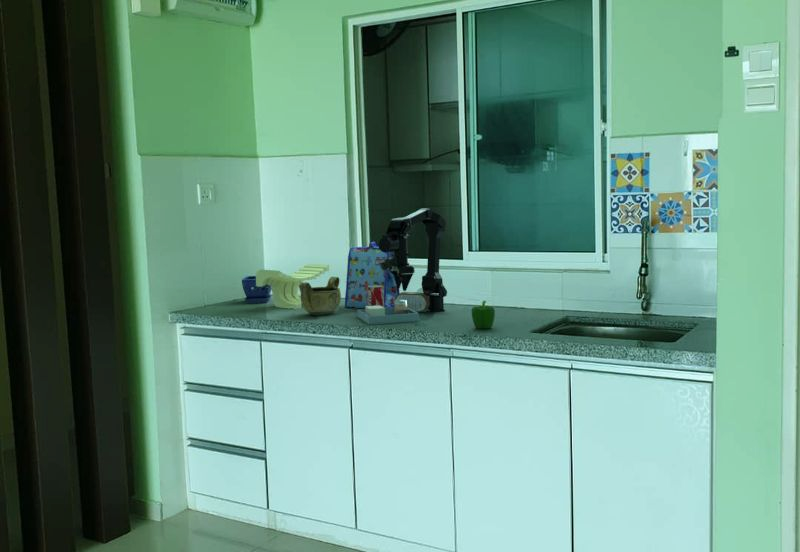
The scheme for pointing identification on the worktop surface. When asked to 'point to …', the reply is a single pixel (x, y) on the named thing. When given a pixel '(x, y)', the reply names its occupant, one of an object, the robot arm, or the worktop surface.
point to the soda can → (375, 295)
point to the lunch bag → (368, 276)
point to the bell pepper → (483, 316)
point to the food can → (400, 307)
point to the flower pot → (255, 291)
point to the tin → (415, 300)
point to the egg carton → (374, 310)
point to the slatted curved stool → (288, 283)
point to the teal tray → (388, 316)
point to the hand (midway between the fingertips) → (401, 289)
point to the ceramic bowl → (321, 297)
